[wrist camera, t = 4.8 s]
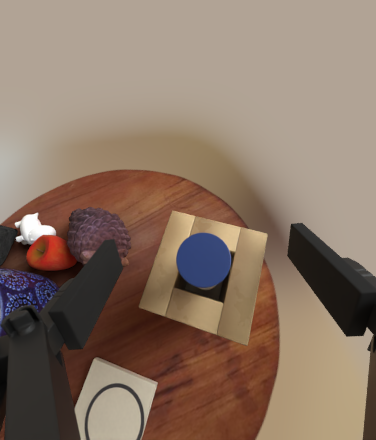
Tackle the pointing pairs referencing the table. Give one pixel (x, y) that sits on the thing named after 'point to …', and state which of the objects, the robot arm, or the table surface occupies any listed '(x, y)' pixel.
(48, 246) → the apple
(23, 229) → the toy creature
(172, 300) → the pen block
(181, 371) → the table surface
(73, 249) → the pine cone
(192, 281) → the marker
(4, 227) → the rock
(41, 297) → the planter
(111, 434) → the drawing board
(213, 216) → the table surface
